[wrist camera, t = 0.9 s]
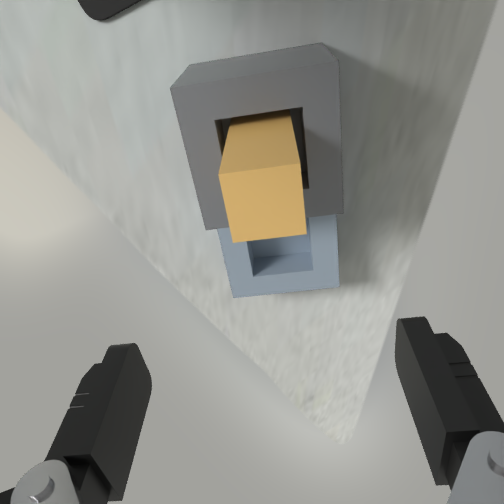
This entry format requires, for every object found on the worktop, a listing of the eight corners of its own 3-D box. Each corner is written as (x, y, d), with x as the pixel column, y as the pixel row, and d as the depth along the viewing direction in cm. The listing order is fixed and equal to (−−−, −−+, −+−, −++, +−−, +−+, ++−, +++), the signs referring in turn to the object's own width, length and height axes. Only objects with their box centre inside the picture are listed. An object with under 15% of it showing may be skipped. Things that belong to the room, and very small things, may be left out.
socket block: (189, 64, 31) (169, 88, 24) (321, 42, 30) (338, 60, 23) (235, 272, 42) (230, 328, 35) (333, 262, 41) (346, 316, 34)
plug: (231, 116, 28) (218, 174, 20) (288, 108, 28) (300, 163, 19) (242, 180, 31) (235, 255, 22) (295, 173, 30) (307, 246, 22)
